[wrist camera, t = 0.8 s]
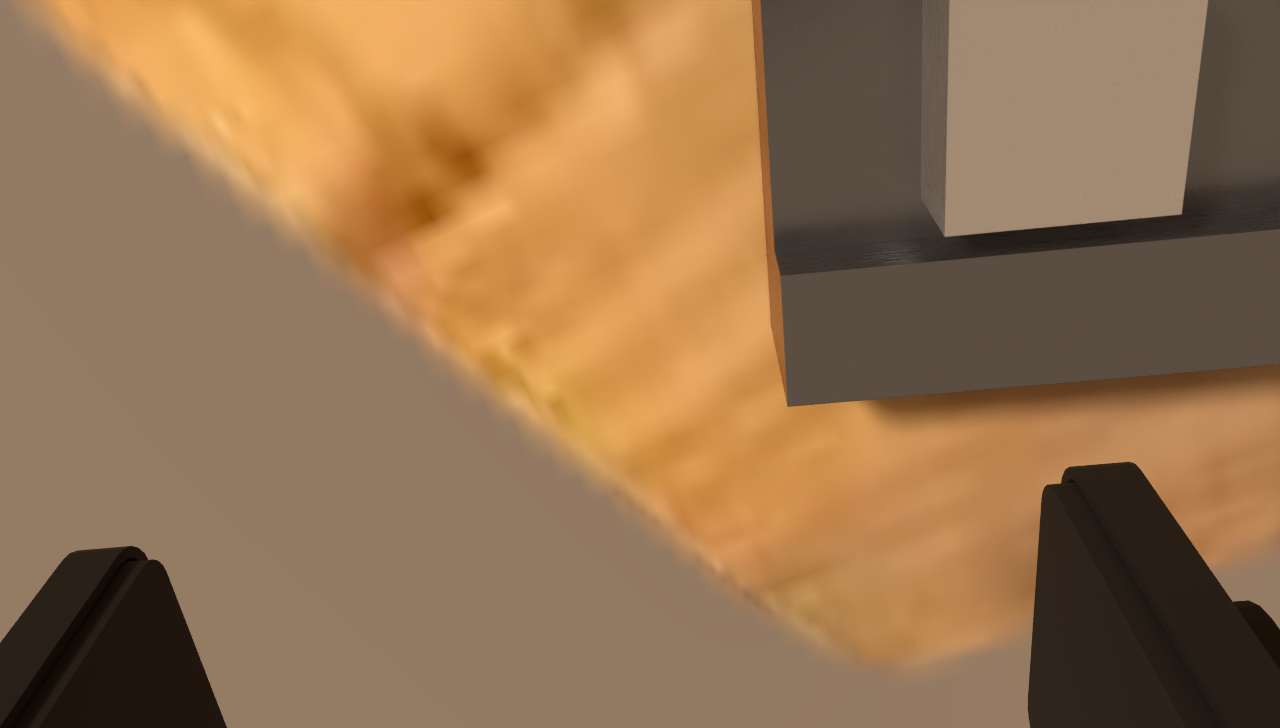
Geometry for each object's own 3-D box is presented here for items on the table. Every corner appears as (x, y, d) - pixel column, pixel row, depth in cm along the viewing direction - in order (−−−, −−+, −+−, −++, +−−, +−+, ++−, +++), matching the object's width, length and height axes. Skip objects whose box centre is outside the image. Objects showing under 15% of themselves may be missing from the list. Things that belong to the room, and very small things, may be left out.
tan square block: (1160, -49, 24) (1212, -30, 22) (1137, 177, 26) (1181, 214, 24) (922, -22, 24) (949, -2, 22) (920, 197, 26) (945, 236, 24)
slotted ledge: (1390, -318, 24) (1536, -336, 20) (1285, 279, 30) (1379, 355, 26) (737, -238, 25) (752, -239, 21) (771, 326, 31) (787, 406, 27)
